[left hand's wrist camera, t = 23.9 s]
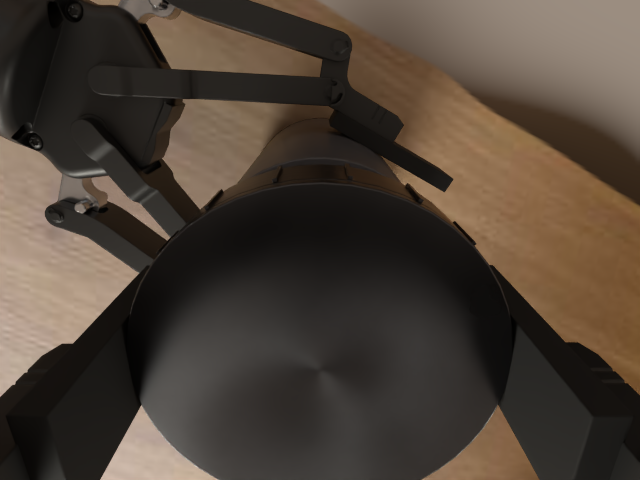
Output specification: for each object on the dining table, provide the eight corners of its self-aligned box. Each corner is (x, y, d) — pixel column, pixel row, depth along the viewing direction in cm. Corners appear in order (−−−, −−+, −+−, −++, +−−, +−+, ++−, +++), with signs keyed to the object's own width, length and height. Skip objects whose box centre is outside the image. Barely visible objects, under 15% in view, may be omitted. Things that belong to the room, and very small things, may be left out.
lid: (283, 80, 10) (273, 79, 8) (553, 301, 12) (598, 343, 10) (96, 346, 13) (55, 395, 11) (344, 487, 15) (348, 549, 13)
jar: (407, 200, 29) (499, 330, 14) (304, 265, 30) (290, 440, 16) (337, 89, 26) (360, 106, 11) (229, 168, 28) (128, 270, 13)
